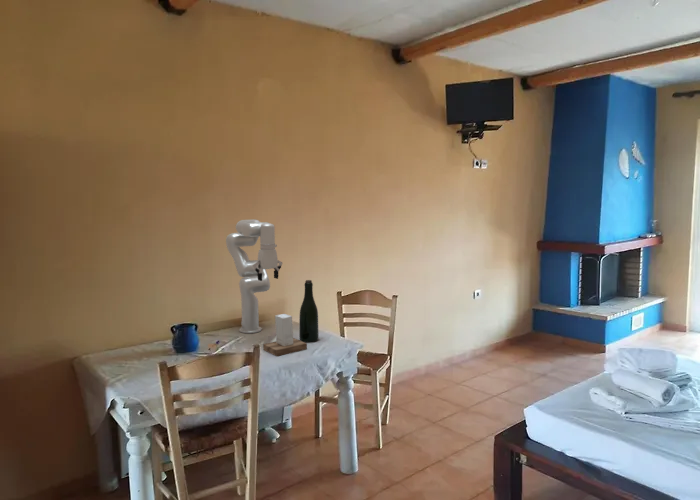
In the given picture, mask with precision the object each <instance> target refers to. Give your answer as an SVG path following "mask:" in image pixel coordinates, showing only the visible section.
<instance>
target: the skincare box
mask: <svg viewBox="0 0 700 500" xmlns="http://www.w3.org/2000/svg"><path fill="white" fill-rule="evenodd" d="M274 317H275V318H274V319H275V321H274V323H275V338H276V340H275V342H276V343H278V344H280V345H282V346H288V345H293V338H294V332H293V331H294V330H293V328H294V327H293V316H292V315H290V314H286V313H282V314H277V315H276V314H275V315H274Z"/></svg>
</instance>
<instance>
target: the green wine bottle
mask: <svg viewBox="0 0 700 500" xmlns="http://www.w3.org/2000/svg"><path fill="white" fill-rule="evenodd" d="M303 286H304V295H303V301H302V302H301V305H300V308H299V320H298V321H299V323H298V325H299V326H298V327H299V329H298V330H299V331H298V332H299V333H298V334H299V335H298V336H299V337H298V338H299V339H298V340H300V341H302V342H305V343H313V342H316V341H318V340H319V338H320V337H319V334H320V333H319V331H320V330H319V312H318V307H317V304H316V302H315V298H314V293H313V291H314V290H313V288H314V287H313V286H314V284H313V282H312V280H311V279H306V280H305V281H304V285H303Z"/></svg>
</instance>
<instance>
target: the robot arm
mask: <svg viewBox="0 0 700 500" xmlns="http://www.w3.org/2000/svg"><path fill="white" fill-rule="evenodd" d="M275 228H276V227H275V225H274V224H273V223H270V222H268V221H265V222H263V221H262V222H261V221H260V220H258V219H240V220H239V221H237V223H236V225H235V230H236V232H232V233H229V234H227V236H226V239H225V244H226V248H227V251H228V252H229V254H230V256H231V258H232V259H233V262H234V265H235V270H236V271H237V275H238V276H239V277H241V279H240V280H239V282H238V285H239V291H240V298H241V299H240V301H241V302H240V303H241V322H240V324H241V327H239V329H238V330H239V331H238V332H240V333H242V334H256V333H260V332H262V327H261V326H259V323H260V321H259V318H260V317H259V316H260V315H259V300H258V298H257V296H256V295H255V294H256V293H264V292H267V291H269V290H270V288H271V282H270V277H269V275H268V273H267V270H270V269H274V270H273V278H274V279H279V272H280V269H282V265H283V261H280V260H279V259H278V253H277V249H276V248H277V247H278V245H277V244H276V236H275V235H276V233H275V232H276V229H275ZM259 238H260V239H259ZM258 240H260V243H259V244H260V247H259V248H260V249H259V250H258V254H257V259H255V260H254V259H253V260H252V259H250V258H249V256H248V254H247V252H246V251H245V250H244V249H242V247H253V246H255V245H256V244H257V242H258Z"/></svg>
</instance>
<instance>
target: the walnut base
mask: <svg viewBox="0 0 700 500" xmlns="http://www.w3.org/2000/svg"><path fill="white" fill-rule="evenodd" d="M262 348H263V351H265V352H267V353H269V354H270V355H271V354H272V355H273V356H275V357H280V356H284V355H288V354H292V353H297V352H302V351H305V350H307V349H308V342H303V341H300V339H297V338H295V337H293V345H288V346H282V345H280V344H278V343H276V341H272V342H268V343H263V346H262Z"/></svg>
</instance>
